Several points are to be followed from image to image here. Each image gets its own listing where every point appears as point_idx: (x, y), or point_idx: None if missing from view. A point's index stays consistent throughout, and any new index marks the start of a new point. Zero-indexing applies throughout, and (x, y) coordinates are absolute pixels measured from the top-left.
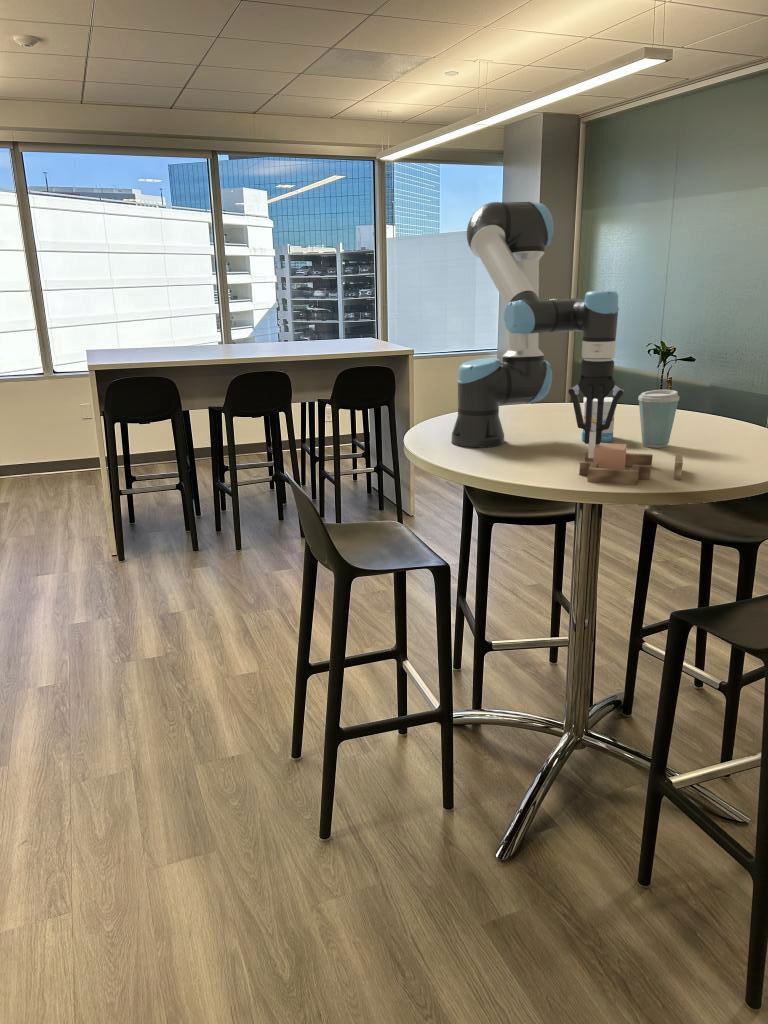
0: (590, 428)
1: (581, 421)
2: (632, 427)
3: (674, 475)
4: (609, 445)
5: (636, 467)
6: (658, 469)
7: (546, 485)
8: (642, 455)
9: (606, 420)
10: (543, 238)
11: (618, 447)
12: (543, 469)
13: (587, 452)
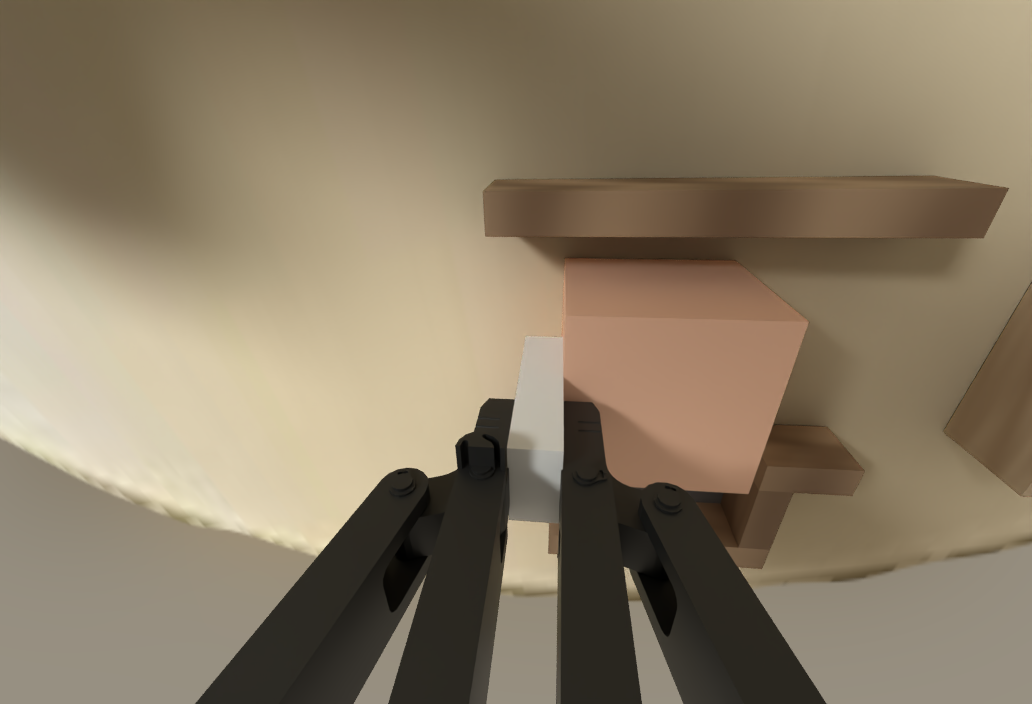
0: (507, 515)
1: (412, 590)
2: None
3: (960, 445)
4: (660, 390)
5: (771, 510)
6: (949, 245)
7: None
8: (904, 237)
9: (660, 632)
10: None
11: (719, 432)
12: (335, 381)
13: (500, 234)
